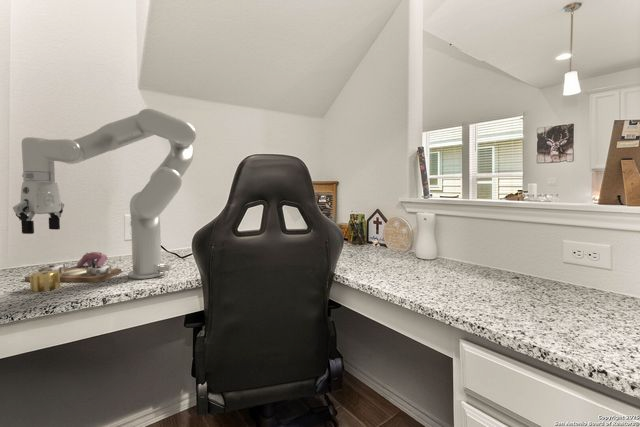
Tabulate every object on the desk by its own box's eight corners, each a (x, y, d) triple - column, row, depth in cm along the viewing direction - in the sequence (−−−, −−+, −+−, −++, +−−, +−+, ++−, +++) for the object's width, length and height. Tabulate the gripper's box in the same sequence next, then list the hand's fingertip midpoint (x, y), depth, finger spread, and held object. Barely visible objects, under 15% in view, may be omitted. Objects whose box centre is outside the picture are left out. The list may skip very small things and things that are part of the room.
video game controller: (105, 270, 131) (110, 253, 134) (97, 267, 127) (102, 250, 130) (83, 269, 132) (89, 252, 135) (74, 266, 128) (80, 249, 131)
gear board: (121, 272, 122) (120, 256, 122) (100, 282, 111) (99, 263, 110) (53, 271, 122) (52, 255, 122) (25, 281, 110) (23, 262, 110)
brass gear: (65, 284, 107) (65, 270, 107) (47, 292, 100) (46, 276, 99) (44, 284, 107) (43, 269, 107) (24, 291, 100) (23, 275, 99)
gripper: (26, 177, 92) (29, 235, 93) (72, 178, 109) (74, 228, 110) (0, 176, 92) (3, 235, 93) (50, 178, 109) (52, 227, 110)
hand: (41, 231), depth 102 cm, fingers open, 9 cm apart
